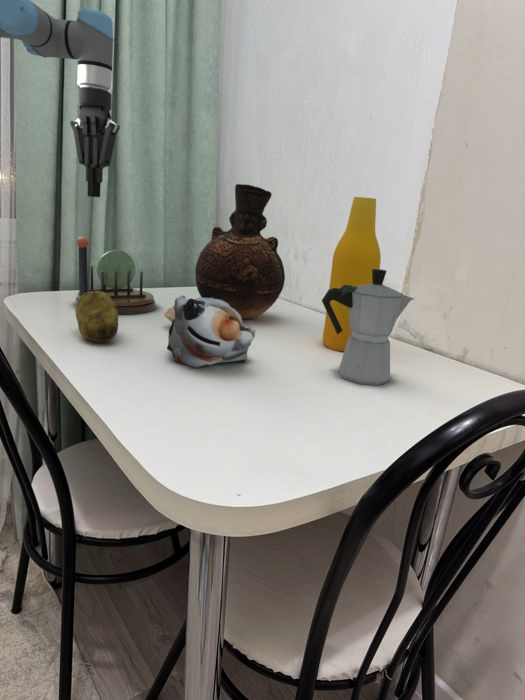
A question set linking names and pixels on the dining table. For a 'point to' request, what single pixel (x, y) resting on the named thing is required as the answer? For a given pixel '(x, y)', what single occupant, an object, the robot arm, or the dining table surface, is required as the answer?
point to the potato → (97, 316)
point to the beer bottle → (352, 265)
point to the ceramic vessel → (242, 258)
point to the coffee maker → (367, 328)
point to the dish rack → (112, 276)
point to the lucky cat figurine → (207, 332)
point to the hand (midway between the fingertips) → (93, 196)
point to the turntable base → (133, 308)
